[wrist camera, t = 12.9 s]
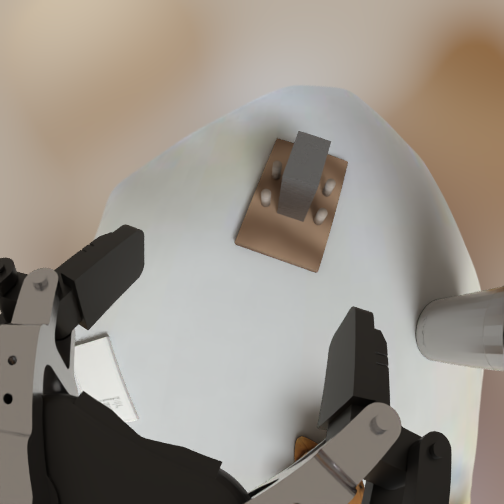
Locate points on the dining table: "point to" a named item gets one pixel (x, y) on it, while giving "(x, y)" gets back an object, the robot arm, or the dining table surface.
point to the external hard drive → (103, 377)
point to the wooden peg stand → (285, 228)
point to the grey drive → (302, 175)
